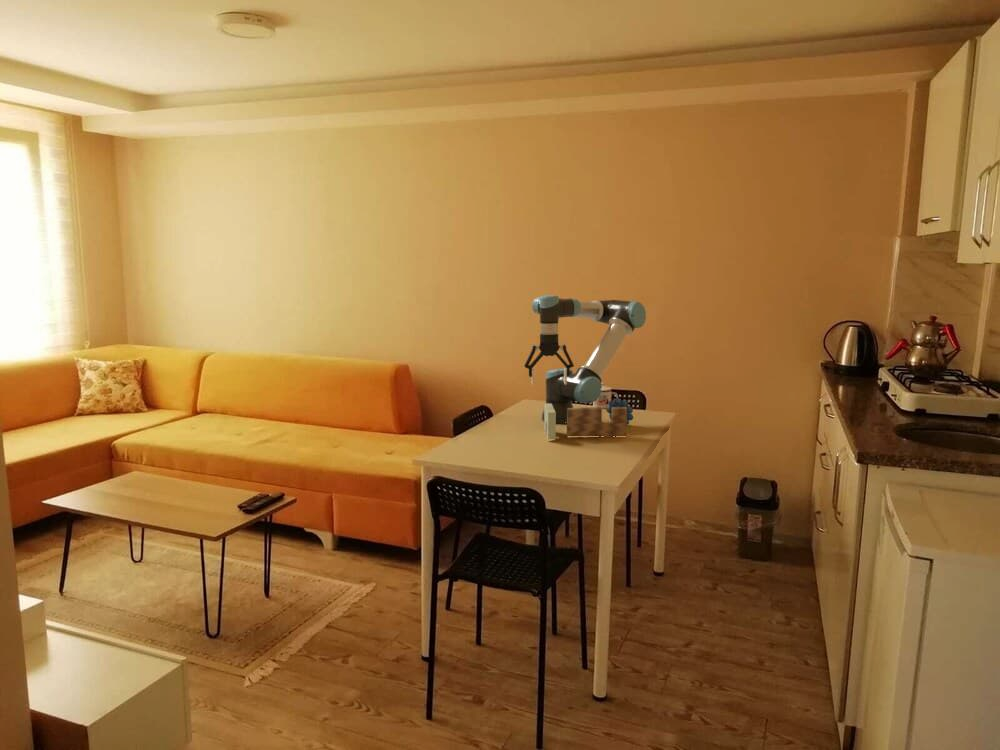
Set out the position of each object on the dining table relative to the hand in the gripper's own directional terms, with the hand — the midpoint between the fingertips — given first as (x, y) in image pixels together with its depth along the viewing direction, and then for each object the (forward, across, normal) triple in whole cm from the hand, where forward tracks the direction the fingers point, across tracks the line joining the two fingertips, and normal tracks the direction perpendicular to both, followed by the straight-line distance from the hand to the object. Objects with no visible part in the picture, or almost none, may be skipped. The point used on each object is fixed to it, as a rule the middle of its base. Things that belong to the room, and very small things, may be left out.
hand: (549, 384), depth 301 cm
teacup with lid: (+21, +33, +46) cm, 60 cm away
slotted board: (+21, +19, -8) cm, 29 cm away
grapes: (+21, +32, +10) cm, 39 cm away
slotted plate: (+21, 0, -6) cm, 22 cm away
